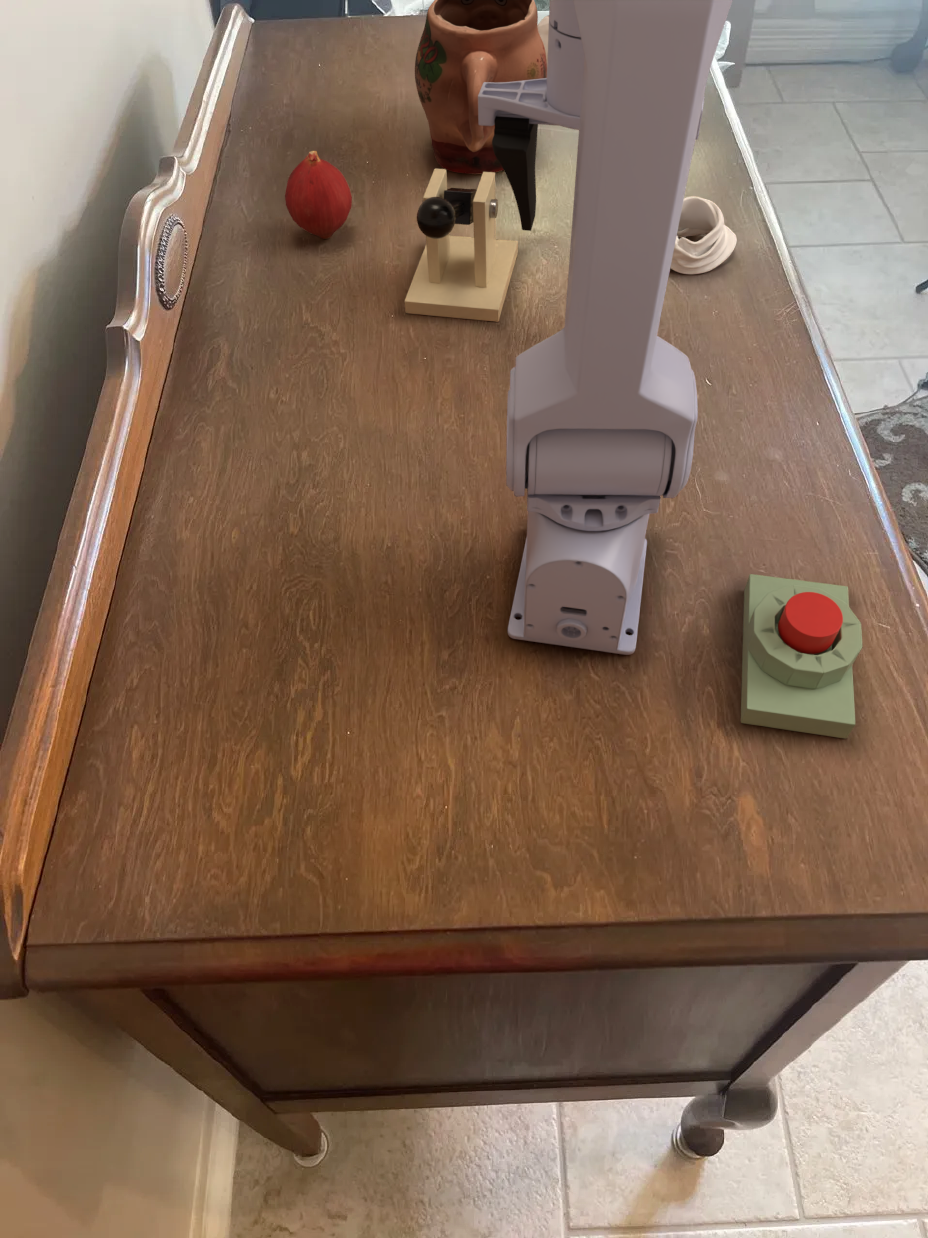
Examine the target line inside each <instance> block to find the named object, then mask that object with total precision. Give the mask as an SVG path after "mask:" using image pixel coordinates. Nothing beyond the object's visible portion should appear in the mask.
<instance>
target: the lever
mask: <svg viewBox="0 0 928 1238" xmlns="http://www.w3.org/2000/svg"><path fill="white" fill-rule="evenodd" d="M476 191H477V188H463V187H462V188H461V187H449V188H447V190H444V198H441V197H431V198H428V199H426V200H425V201H424V202H423V203H421V204H420V205H419V207H418V209H417V212H416V223H417V226H418V229H419V231H420V232H421V233H422V234H423V235H424V236H425V237H426V236H427V237H429V238H433V239H440V238H443V237H445V236H447V235H448V234H449V233H451V232H452V231H453V229H454V227H455V225H463V226H470V225H472V224H473V200H474V197H475V194H476Z"/></svg>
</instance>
